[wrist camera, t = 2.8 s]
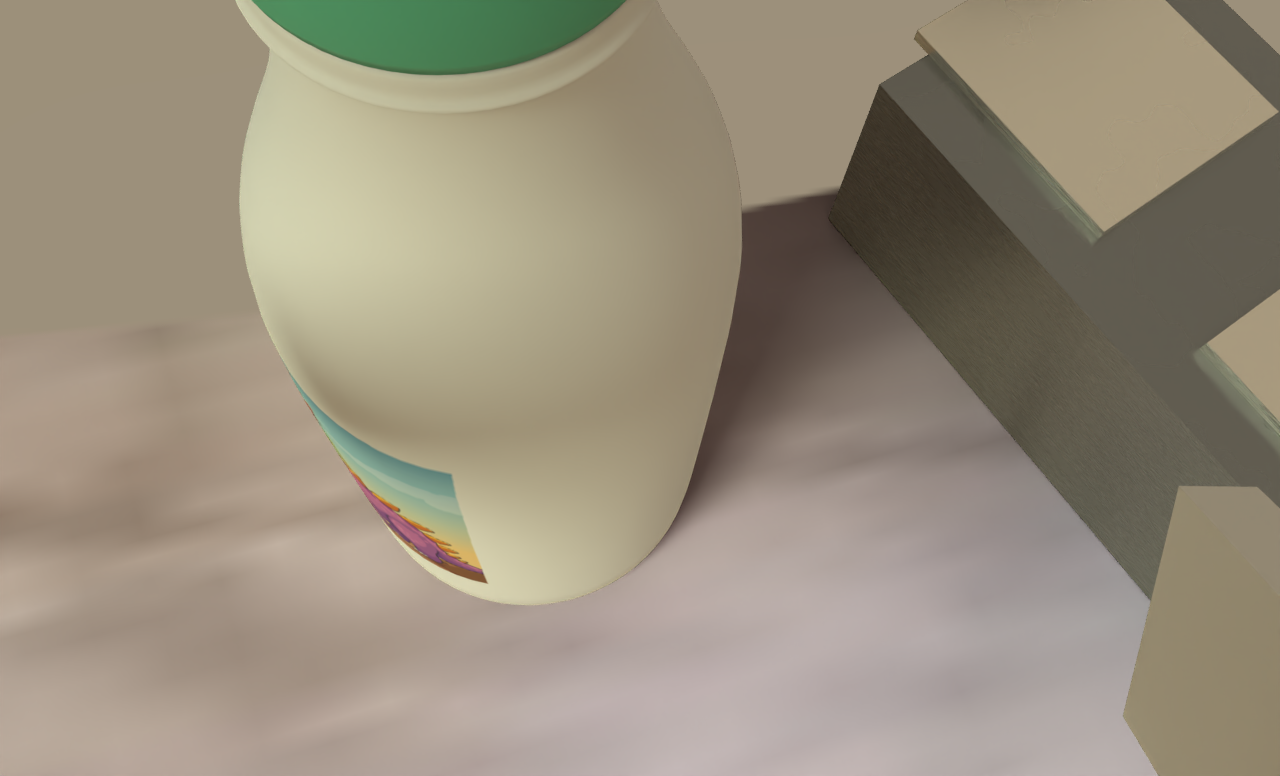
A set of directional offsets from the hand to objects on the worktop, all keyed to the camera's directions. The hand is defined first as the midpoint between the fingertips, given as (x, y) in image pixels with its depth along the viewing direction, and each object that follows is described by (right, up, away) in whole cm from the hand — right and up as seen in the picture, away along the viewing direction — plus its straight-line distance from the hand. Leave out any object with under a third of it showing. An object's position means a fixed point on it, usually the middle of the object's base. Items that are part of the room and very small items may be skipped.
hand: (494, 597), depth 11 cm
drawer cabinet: (+14, +3, +19) cm, 24 cm away
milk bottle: (-1, 0, +17) cm, 18 cm away
